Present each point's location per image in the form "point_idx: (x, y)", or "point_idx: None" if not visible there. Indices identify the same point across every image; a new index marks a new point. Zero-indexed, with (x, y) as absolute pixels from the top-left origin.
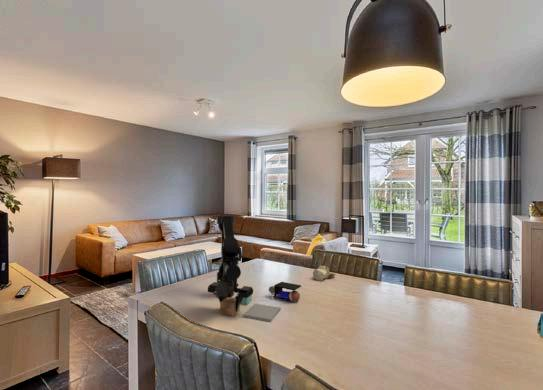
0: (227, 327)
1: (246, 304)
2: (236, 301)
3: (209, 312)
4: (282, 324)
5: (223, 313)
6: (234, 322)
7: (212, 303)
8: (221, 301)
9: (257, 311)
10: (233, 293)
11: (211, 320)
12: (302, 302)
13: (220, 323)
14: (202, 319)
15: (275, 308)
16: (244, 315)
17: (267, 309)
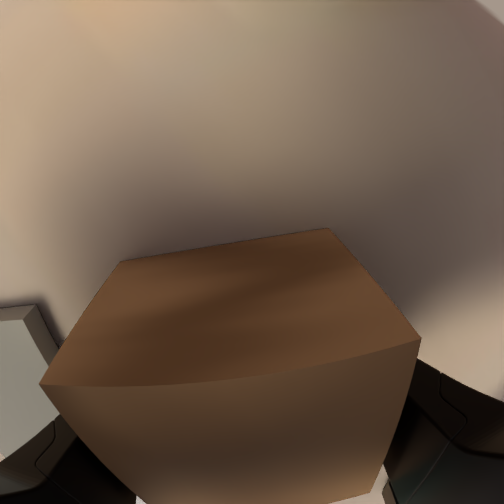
0: (17, 12)
1: None
2: (52, 461)
3: (463, 204)
4: None
5: (274, 243)
6: (11, 142)
7: (485, 362)
8: (405, 379)
9: (16, 407)
10: (383, 497)
11: (308, 8)
12: None
13: (132, 6)
14: (421, 6)
15: (8, 451)
16: (15, 315)
17: (15, 439)
